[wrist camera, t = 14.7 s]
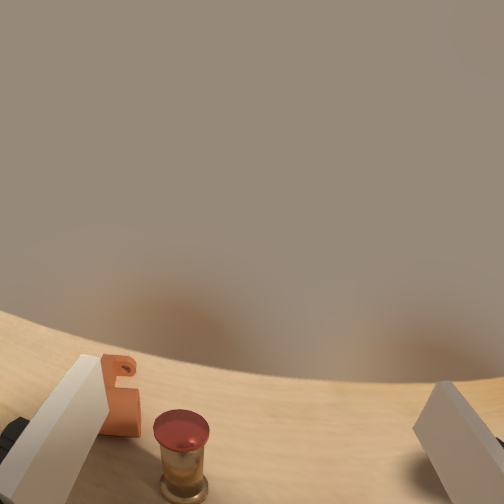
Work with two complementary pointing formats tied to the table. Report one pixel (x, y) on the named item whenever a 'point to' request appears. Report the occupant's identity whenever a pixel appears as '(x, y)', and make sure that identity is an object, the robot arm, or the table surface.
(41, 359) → the table surface
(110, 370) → the orange holed part
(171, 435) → the valve
